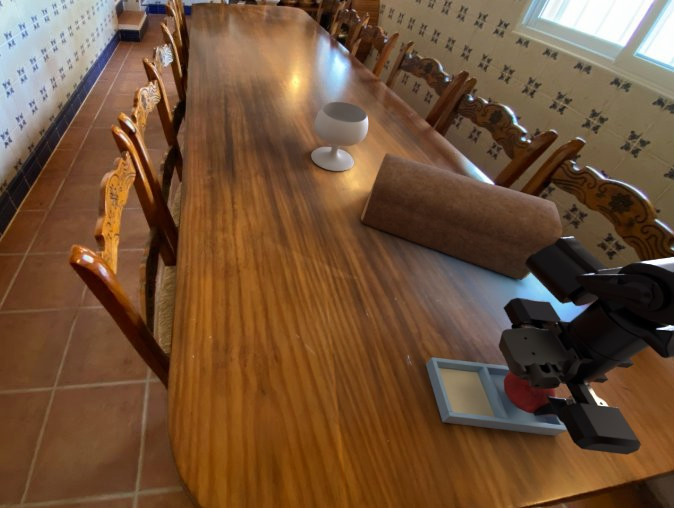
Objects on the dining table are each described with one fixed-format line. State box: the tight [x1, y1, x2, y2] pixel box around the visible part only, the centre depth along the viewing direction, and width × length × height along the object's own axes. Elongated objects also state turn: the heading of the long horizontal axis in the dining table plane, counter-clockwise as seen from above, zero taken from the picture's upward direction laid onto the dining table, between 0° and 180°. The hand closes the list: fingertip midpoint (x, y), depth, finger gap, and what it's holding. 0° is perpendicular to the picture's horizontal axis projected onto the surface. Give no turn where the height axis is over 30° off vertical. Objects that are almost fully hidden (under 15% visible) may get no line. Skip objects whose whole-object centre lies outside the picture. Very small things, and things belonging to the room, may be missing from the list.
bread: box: [360, 152, 563, 281], centre depth 77 cm, size 14×34×14 cm, turn 63°
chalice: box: [310, 101, 369, 172], centre depth 97 cm, size 14×14×15 cm
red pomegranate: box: [504, 371, 556, 413], centre depth 51 cm, size 6×6×8 cm
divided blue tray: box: [425, 356, 567, 437], centre depth 54 cm, size 8×16×2 cm, turn 85°
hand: (525, 391), depth 52 cm, fingers closed on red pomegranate, 6 cm apart
